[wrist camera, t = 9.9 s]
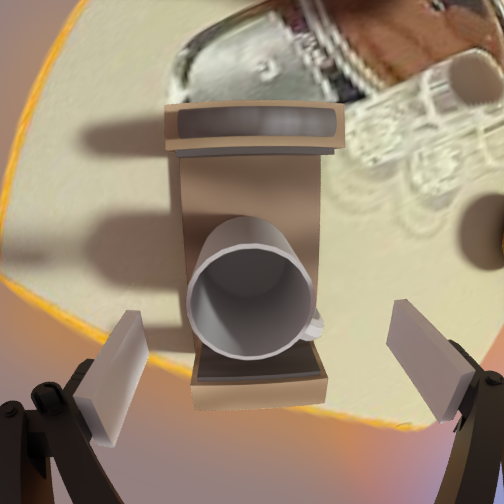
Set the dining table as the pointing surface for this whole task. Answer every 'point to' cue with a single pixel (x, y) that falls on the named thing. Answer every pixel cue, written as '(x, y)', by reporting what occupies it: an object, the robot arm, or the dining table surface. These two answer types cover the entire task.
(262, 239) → the cup
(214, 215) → the base
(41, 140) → the dining table surface
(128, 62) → the dining table surface
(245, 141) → the block
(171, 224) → the dining table surface
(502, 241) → the fruit
